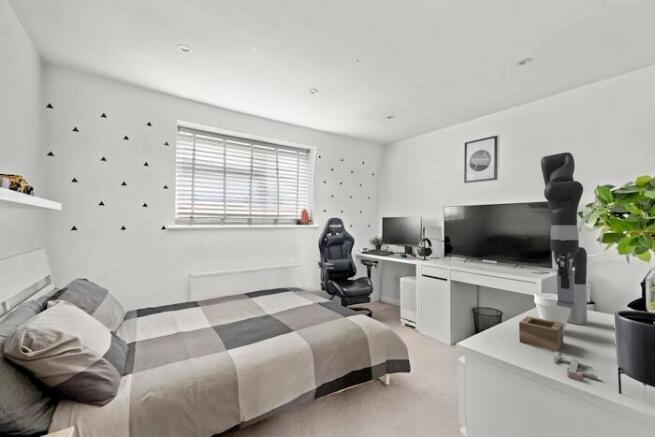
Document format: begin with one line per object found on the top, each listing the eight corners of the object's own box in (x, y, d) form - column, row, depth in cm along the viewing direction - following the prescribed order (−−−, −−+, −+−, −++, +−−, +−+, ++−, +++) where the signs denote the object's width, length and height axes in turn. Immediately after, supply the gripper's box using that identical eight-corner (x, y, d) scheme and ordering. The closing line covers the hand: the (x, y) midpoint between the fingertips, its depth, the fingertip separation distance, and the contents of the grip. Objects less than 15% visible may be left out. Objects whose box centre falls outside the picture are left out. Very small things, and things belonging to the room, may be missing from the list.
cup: (570, 328, 118) (569, 295, 119) (575, 338, 108) (574, 301, 109) (534, 323, 125) (533, 291, 126) (535, 331, 115) (534, 297, 115)
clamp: (596, 379, 76) (549, 366, 83) (597, 387, 76) (549, 374, 83) (598, 360, 86) (556, 350, 93) (598, 368, 86) (556, 357, 93)
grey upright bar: (558, 303, 102) (557, 269, 102) (575, 305, 99) (574, 271, 99) (556, 305, 99) (555, 271, 99) (573, 308, 96) (572, 272, 96)
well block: (527, 334, 112) (526, 316, 112) (563, 342, 104) (562, 323, 104) (519, 342, 104) (519, 322, 105) (557, 351, 96) (557, 330, 97)
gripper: (554, 237, 108) (555, 283, 107) (547, 238, 98) (548, 289, 98) (580, 238, 102) (582, 286, 102) (576, 239, 93) (577, 293, 92)
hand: (565, 287), depth 100 cm, fingers closed on grey upright bar, 2 cm apart
